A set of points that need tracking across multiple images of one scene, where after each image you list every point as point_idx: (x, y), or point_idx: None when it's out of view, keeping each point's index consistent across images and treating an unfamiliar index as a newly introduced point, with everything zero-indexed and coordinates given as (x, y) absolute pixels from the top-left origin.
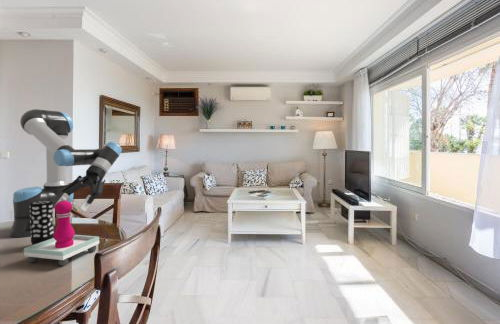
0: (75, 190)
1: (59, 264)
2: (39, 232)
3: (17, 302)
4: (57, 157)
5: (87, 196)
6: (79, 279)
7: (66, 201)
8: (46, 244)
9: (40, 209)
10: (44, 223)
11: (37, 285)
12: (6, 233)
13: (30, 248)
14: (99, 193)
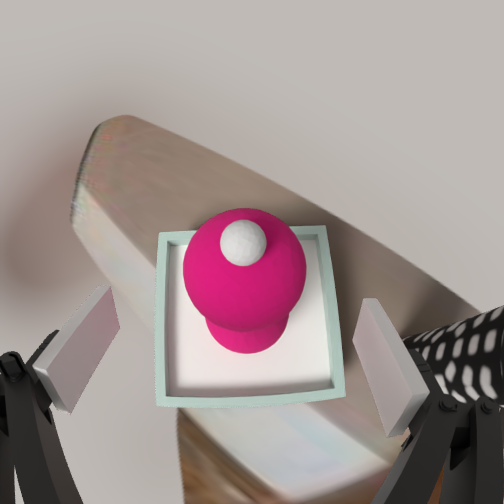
0: (375, 499)
1: None
2: (422, 338)
3: (144, 135)
4: None
5: (56, 356)
6: (91, 218)
7: (214, 259)
8: (323, 304)
9: (485, 326)
10: (434, 350)
11: (158, 175)
12: None
13: (302, 230)
14: (2, 427)
